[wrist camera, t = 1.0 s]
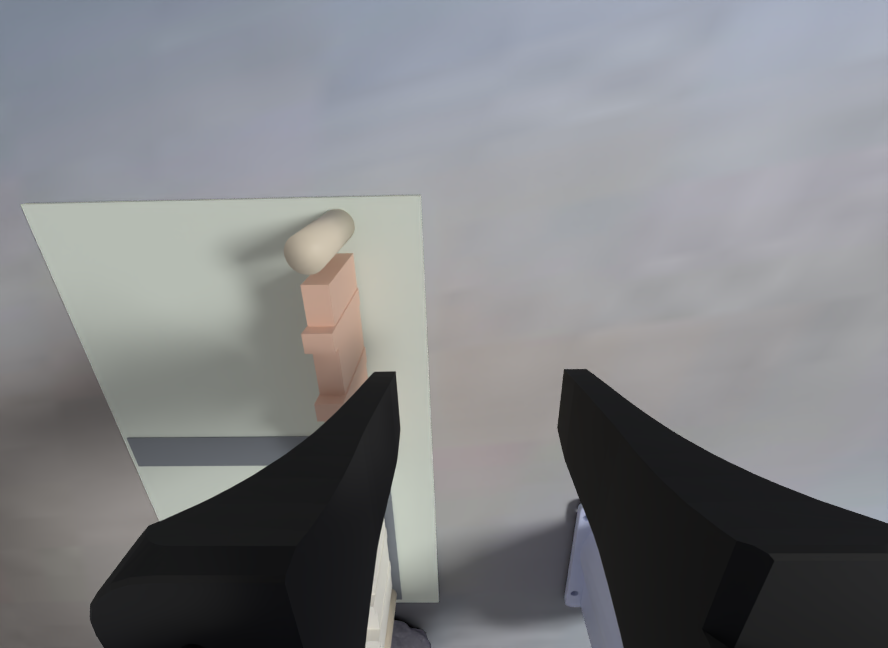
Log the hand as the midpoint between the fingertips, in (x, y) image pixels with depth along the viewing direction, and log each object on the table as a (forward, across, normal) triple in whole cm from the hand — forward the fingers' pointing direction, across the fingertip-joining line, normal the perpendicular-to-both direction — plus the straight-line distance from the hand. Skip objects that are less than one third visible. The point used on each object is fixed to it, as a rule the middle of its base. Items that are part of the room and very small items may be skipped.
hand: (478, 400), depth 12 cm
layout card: (+8, +10, +9) cm, 16 cm away
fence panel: (+8, +5, +2) cm, 10 cm away
